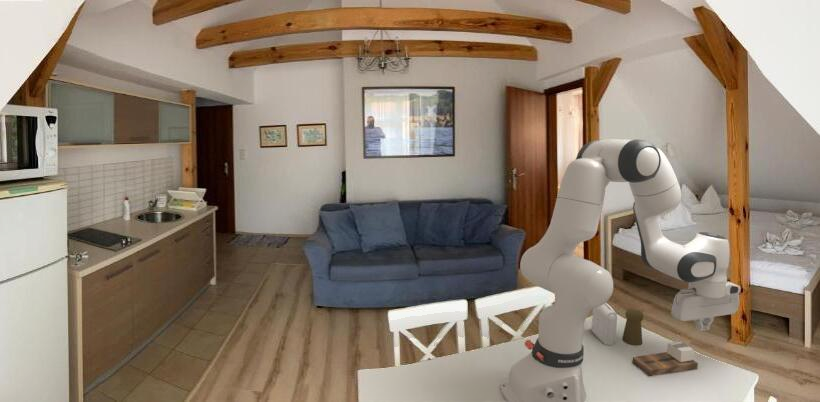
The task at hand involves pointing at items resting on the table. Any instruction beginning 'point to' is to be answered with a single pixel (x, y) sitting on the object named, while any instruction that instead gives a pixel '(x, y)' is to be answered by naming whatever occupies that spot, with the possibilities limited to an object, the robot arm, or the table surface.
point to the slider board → (662, 364)
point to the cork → (633, 327)
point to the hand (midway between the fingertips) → (702, 329)
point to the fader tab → (680, 351)
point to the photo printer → (604, 324)
